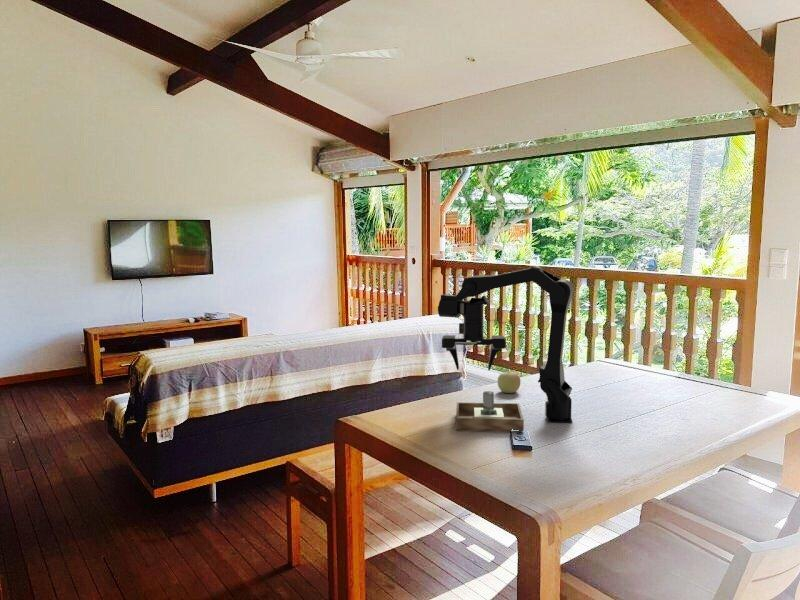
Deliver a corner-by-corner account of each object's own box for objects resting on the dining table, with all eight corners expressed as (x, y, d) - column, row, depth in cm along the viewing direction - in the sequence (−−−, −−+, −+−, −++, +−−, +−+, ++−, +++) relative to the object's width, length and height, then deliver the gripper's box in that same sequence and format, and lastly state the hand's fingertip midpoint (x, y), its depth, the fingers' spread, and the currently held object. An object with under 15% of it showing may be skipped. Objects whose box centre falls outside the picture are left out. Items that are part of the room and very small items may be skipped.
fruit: (515, 396, 191) (515, 372, 190) (494, 393, 195) (494, 369, 194) (524, 390, 198) (524, 367, 197) (503, 387, 202) (503, 364, 200)
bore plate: (502, 416, 171) (502, 408, 171) (503, 425, 163) (504, 417, 163) (474, 415, 172) (474, 407, 172) (474, 425, 164) (474, 416, 164)
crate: (518, 414, 174) (518, 403, 173) (523, 432, 160) (523, 419, 159) (456, 413, 176) (456, 402, 175) (456, 430, 162) (456, 418, 161)
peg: (493, 418, 169) (493, 391, 168) (494, 422, 166) (494, 394, 165) (483, 418, 169) (482, 391, 168) (483, 422, 166) (483, 394, 165)
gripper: (503, 314, 183) (503, 363, 185) (442, 314, 185) (442, 363, 187) (506, 320, 172) (505, 373, 174) (441, 320, 174) (441, 372, 176)
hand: (473, 370), depth 178 cm, fingers open, 9 cm apart
